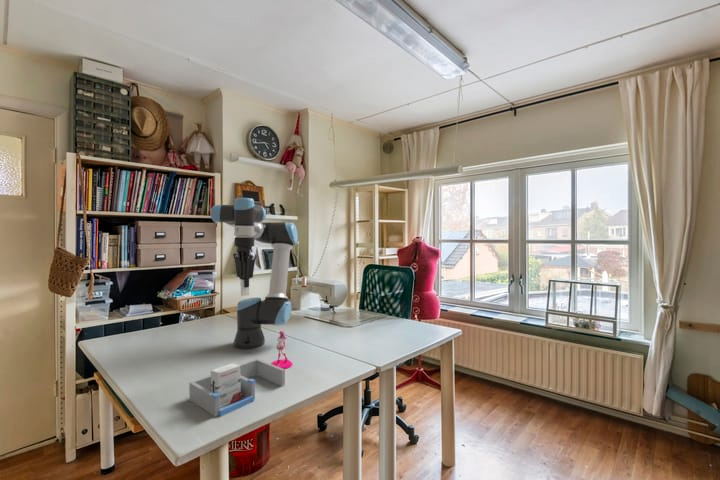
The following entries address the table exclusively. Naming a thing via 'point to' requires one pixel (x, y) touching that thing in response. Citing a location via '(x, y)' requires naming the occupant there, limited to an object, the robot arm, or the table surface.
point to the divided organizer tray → (210, 401)
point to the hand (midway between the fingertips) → (244, 295)
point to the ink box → (226, 383)
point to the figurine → (280, 346)
